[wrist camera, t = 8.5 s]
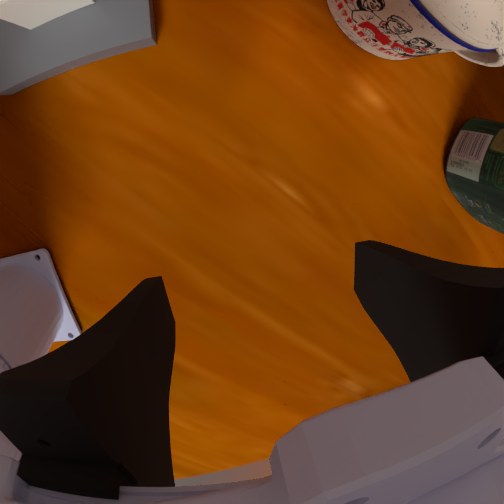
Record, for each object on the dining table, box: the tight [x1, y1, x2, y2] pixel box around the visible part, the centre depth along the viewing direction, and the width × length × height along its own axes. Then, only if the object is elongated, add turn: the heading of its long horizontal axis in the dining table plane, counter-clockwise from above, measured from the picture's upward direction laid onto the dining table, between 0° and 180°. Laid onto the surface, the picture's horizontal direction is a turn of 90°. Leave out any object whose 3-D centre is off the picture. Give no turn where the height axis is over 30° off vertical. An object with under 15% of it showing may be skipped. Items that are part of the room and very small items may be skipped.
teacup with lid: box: [327, 0, 504, 67], centre depth 11 cm, size 12×9×12 cm
